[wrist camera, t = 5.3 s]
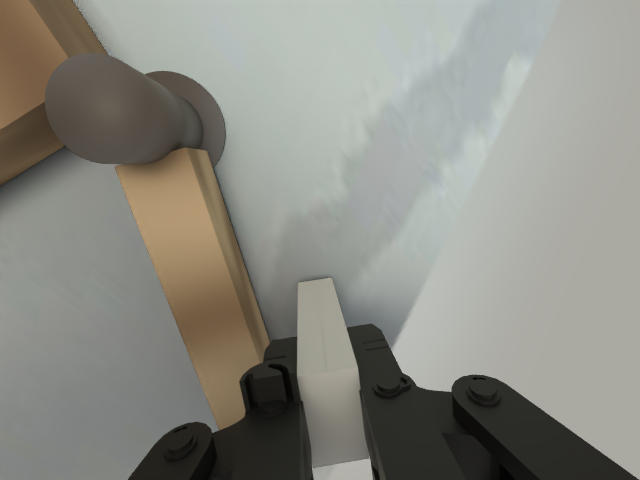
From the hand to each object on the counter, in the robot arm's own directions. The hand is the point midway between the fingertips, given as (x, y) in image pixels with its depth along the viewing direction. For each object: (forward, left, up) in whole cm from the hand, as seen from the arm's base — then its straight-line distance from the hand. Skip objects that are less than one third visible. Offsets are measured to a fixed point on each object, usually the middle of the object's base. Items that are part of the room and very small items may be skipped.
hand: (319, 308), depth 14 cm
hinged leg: (-3, +4, -1) cm, 5 cm away
